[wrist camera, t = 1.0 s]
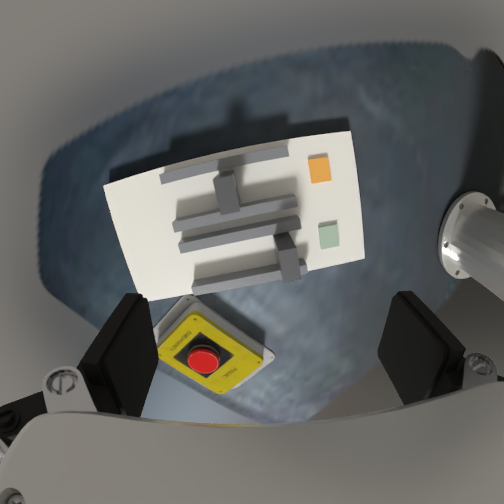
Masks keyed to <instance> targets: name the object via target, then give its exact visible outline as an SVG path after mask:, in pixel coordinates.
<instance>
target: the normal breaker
mask: <svg viewBox="0 0 504 504" xmlns="http://www.w3.org/2000/svg"><path fill="white" fill-rule="evenodd" d="M273 240H274V246H275V251H276V257H277V262H278V265H279V268H280V272H281V275H282V278H283V282H289V281H294V280H298V279H301V273H300V266H299V259H298V252H297V247H296V245H295V243H294V241H293V240H292V238H291V236H290V234H289V232H284V233H279V234H274V235H273Z"/></svg>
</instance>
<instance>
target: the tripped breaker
mask: <svg viewBox="0 0 504 504" xmlns="http://www.w3.org/2000/svg"><path fill="white" fill-rule="evenodd" d="M213 184H214V188H215V193H216V197H217V201H218V206H219V210H220V214H221V215H226V214H231V213H235V212H240V202H241V200H240V196H239V191H238V186H237V182H236V177H235V173H234V170H233V171H229V172H224V173H220V174H217V175H216V176H215V177H214V178H213Z"/></svg>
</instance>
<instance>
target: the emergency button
mask: <svg viewBox="0 0 504 504" xmlns="http://www.w3.org/2000/svg"><path fill="white" fill-rule="evenodd" d="M153 331H154V336H155V340H156V343H157V350H158V355H159V358H160V359H161V360H163V361H164V362H166V363H167V364H169V365H171V366H172V367H174V368H175V369H177V370H178V371H180V372H182V373H183V374H185V375H186V376H188V377H190V378H191V379H193V380H195V381H196V382H198V383H200V384H201V385H203V386H205V387H207V388H208V389H210V390H212V391H214V392H216V393H218V394H223V393H226V392H227V391H228V390H230V389H235V388H237V387H239V386H240V385H241V384H243V383H244V382H245V381H247V380H248V379H249V378H251V377H252V376H253V375H255V374H256V373H257V372H259V371H260V370H261V369H263V368H264V367H265V366H266V365H268V364H269V363H270V362H272V361H273V360H274V358H275V357H274V353H273V352H272V351H270V350H269V349H267V348H266V347H264V346H263V345H261V344H260V343H258V342H257V341H255V340H254V339H253V338H251V337H250V336H248V335H247V334H245V333H244V332H243V331H241V330H240V329H238V328H237V327H235V326H234V325H233V324H231V323H230V322H229V321H227V320H226V319H224V318H223V317H222V316H220V315H219V314H218V313H216V312H215V311H213V310H212V309H211V308H209V307H208V306H207V305H205V304H204V303H203V302H201V301H200V300H199V299H197V298H196V297H195V296H193V295H191V294H187V295H184V296H182V297H181V298H180V299H179V301H178V302H177V303H176V304H175V305H174V306H173V307H172V308H171V309H170V311H169V312H168V313H167V314H166V315H165V316H164V317H163V318H162V319H161V321H160V322H159V323H158V324H157V325H156V326H155V327H154V328H153Z"/></svg>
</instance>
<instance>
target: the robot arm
mask: <svg viewBox="0 0 504 504" xmlns="http://www.w3.org/2000/svg"><path fill="white" fill-rule="evenodd" d="M438 253H439V258H440V262H441V264H442V266H443V268H444V269H445V270H446V272H448V273H449V274H450V275H451V276H453V277H455V278H459V279H463V278H468V277H470V276H472V277H473V278H474V279H476V280H477V281H478V282H480V283H481V284H482V285H484V286H485V287H487V288H488V289H489V290H490V291H492V292H493V293H494V294H496V295H497V296H498V297H500V298H501V299H502V300H503V301H504V213H501V212H499V211H496V209H495V206H494V204H493V202H492V201H491V199H490V198H489V197H488V196H486V195H485V194H483V193H480V192H476V191H470V192H466V193H464V194H462V195H461V196H460V197H458V198H457V199H456V200H455V201H454V202H453V203H452V205H451V206H450V208H449V209H448V211H447V213H446V215H445V217H444V219H443V222H442V225H441V228H440V233H439V239H438ZM465 350H466V348H465V347H464V346H463V345H462V344H461V343H460V341H459V340H458V339H457V338H456V337H455V336H454V335H453V334H452V333H451V332H450V330H449V329H448V328H447V327H446V326H445V325H444V324H443V323H442V322H441V321H440V320H439V319H438V318H437V316H436V315H435V314H434V313H433V312H432V311H431V310H430V309H429V308H428V307H427V306H426V305H425V304H424V303H423V302H422V301H421V300H420V299H419V298H418V297H417V296H416V295H415V294H414V293H413V292H412V291H399V292H397V294H396V295H395V296H393V298H392V302H391V306H390V309H389V313H388V317H387V320H386V324H385V328H384V331H383V334H382V338H381V341H380V344H379V347H378V357H379V359H380V361H381V363H382V364H383V366H384V368H385V370H386V372H387V374H388V375H389V377H390V379H391V381H392V383H393V385H394V386H395V388H396V390H397V392H398V394H399V396H400V398H401V400H402V402H403V404H404V406H399V407H395V408H390V409H386V410H381V411H376V412H371V413H365V414H359V415H354V416H347V417H340V418H332V419H324V420H316V421H305V422H292V423H275V424H207V423H190V422H178V421H166V420H156V419H148V418H141V417H140V416H141V413H142V410H143V407H144V404H145V400H146V397H147V394H148V391H149V388H150V385H151V382H152V379H153V376H154V373H155V370H156V367H157V364H158V360H159V355H158V350H157V345H156V340H155V336H154V331H153V326H152V321H151V315H150V310H149V304H148V300H147V298H143V295H142V294H139V293H126V294H125V296H124V297H123V299H122V300H121V301H120V303H119V304H118V306H117V307H116V308H115V310H114V311H113V313H112V314H111V316H110V317H109V319H108V320H107V321H106V323H105V324H104V326H103V327H102V329H101V330H100V332H99V333H98V335H97V336H96V338H95V340H94V341H93V343H92V344H91V345H90V347H89V349H88V350H87V352H86V353H85V355H84V357H83V358H82V360H81V361H80V363H79V365H78V366H77V368H74V367H71V366H62V367H58V368H55V369H53V370H51V371H50V372H49V373H48V374H47V375H46V376H45V377H44V379H43V382H42V389H43V391H41V392H38V393H36V394H33V395H30V396H28V397H25V398H22V399H19V400H17V401H14V402H11V403H8V404H6V405H3V406H1V407H0V504H504V377H501V376H498V375H497V367H496V364H495V363H494V361H493V360H491V358H489V357H488V356H486V355H484V354H481V353H471V354H469V355H468V356H467V357H466V358H464V357H463V354H464V352H465Z"/></svg>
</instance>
